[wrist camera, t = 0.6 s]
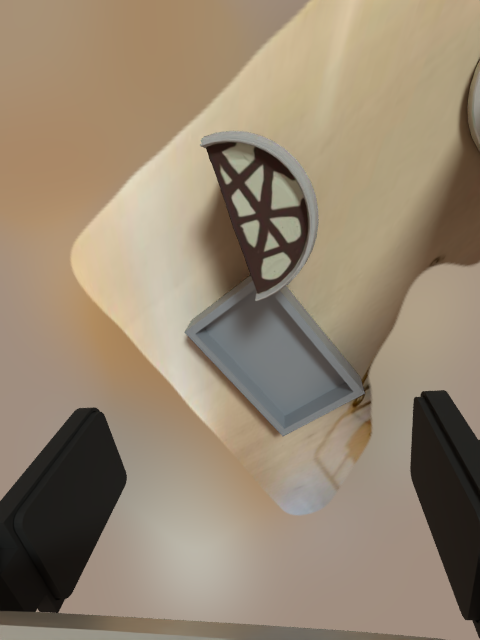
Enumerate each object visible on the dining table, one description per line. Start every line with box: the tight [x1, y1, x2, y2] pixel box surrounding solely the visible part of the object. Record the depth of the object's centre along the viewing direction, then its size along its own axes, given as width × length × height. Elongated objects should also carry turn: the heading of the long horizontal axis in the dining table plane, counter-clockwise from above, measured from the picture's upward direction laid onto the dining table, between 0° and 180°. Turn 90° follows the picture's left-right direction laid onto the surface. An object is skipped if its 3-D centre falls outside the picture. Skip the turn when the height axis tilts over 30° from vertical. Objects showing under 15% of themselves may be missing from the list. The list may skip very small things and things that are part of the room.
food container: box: [200, 131, 318, 301], centre depth 29 cm, size 12×6×10 cm, turn 20°
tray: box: [185, 275, 365, 436], centre depth 39 cm, size 11×17×3 cm, turn 40°
